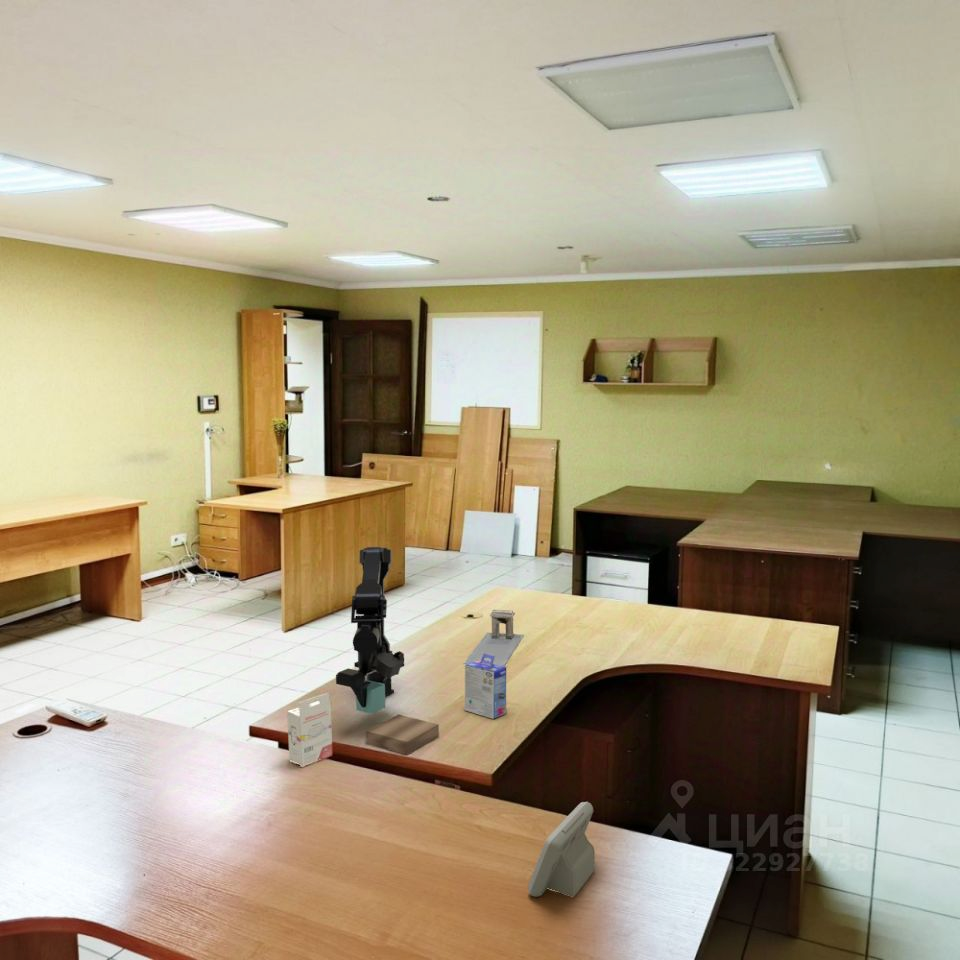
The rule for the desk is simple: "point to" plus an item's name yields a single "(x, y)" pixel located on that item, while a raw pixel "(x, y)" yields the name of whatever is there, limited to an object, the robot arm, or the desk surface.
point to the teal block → (373, 698)
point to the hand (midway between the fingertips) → (370, 703)
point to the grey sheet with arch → (497, 640)
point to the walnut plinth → (402, 734)
